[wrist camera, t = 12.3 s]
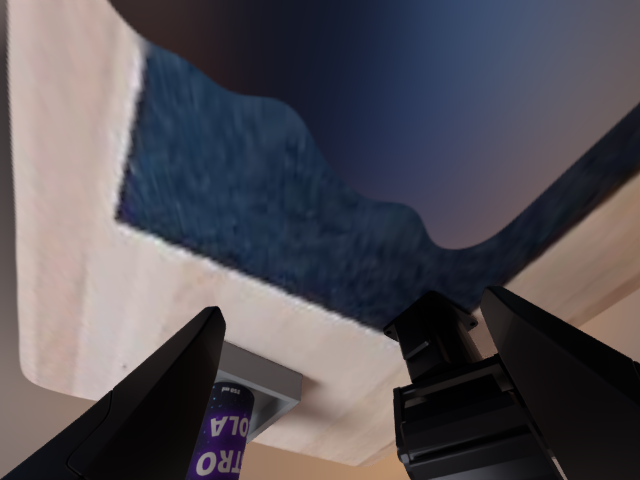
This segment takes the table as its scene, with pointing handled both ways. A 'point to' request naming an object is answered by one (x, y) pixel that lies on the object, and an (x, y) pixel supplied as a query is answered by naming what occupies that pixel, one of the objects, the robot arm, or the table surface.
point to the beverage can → (223, 433)
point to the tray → (261, 385)
